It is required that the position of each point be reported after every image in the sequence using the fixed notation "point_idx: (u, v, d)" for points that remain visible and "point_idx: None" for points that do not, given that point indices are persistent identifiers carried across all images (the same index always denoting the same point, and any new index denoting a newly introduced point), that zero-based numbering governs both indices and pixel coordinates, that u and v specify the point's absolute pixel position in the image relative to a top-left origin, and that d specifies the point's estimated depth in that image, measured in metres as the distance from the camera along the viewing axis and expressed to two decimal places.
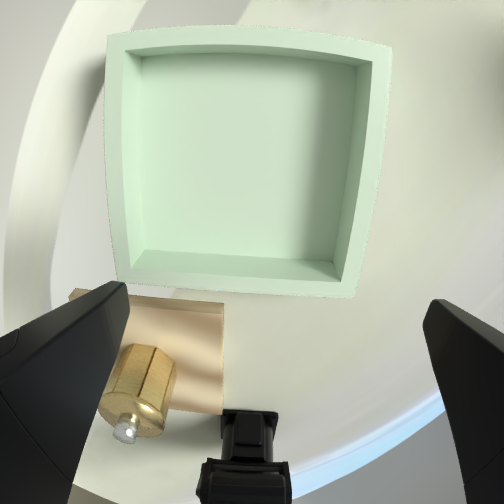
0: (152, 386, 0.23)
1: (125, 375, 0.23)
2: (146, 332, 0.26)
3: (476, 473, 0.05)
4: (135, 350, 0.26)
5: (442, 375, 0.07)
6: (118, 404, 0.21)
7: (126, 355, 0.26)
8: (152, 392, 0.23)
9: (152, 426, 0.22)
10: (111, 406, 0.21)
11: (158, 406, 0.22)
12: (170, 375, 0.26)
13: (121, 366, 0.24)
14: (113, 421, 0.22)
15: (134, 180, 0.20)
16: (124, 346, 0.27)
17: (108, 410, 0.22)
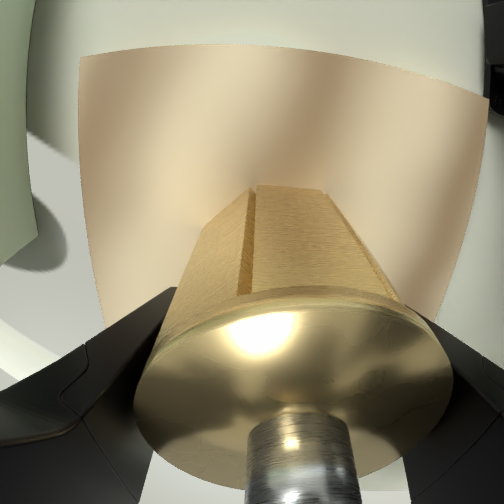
0: (196, 280, 0.06)
1: None
2: (158, 246, 0.11)
3: (422, 491, 0.05)
4: None
5: None
6: (192, 447, 0.05)
7: None
8: (197, 291, 0.06)
9: (356, 371, 0.04)
10: (222, 466, 0.05)
11: (228, 292, 0.05)
12: (255, 203, 0.08)
13: None
14: None
15: None
16: None
17: None
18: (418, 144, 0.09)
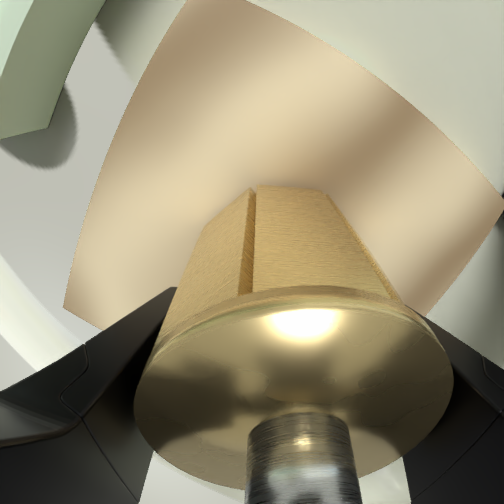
0: (197, 280, 0.06)
1: None
2: (176, 192, 0.10)
3: (422, 491, 0.05)
4: None
5: None
6: (192, 447, 0.05)
7: None
8: (198, 291, 0.06)
9: (357, 371, 0.04)
10: (222, 466, 0.05)
11: (229, 292, 0.05)
12: (256, 203, 0.08)
13: None
14: None
15: None
16: None
17: None
18: (439, 212, 0.10)
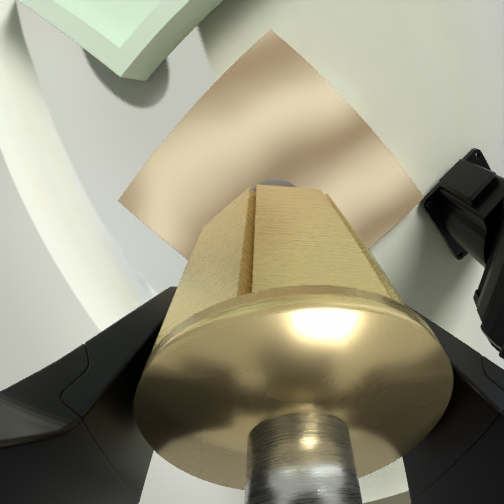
0: (196, 280, 0.06)
1: None
2: (225, 141, 0.17)
3: (422, 491, 0.05)
4: None
5: None
6: (192, 447, 0.05)
7: None
8: (197, 291, 0.06)
9: (356, 370, 0.04)
10: (222, 466, 0.05)
11: (228, 292, 0.05)
12: (256, 203, 0.08)
13: None
14: None
15: (77, 12, 0.13)
16: (223, 196, 0.19)
17: None
18: (373, 189, 0.18)
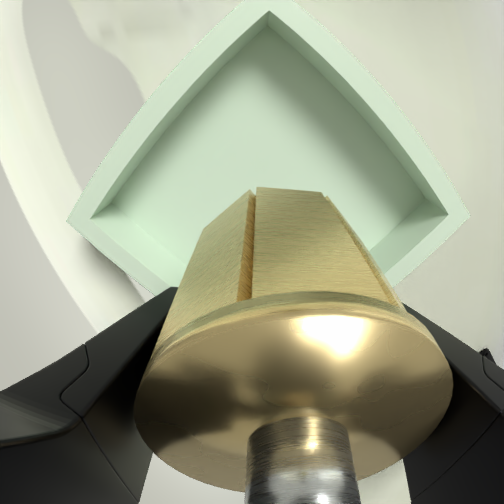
0: (196, 284, 0.06)
1: None
2: None
3: (422, 491, 0.05)
4: None
5: None
6: (192, 450, 0.05)
7: None
8: (197, 295, 0.06)
9: (356, 376, 0.04)
10: (222, 469, 0.05)
11: (228, 297, 0.05)
12: (255, 206, 0.08)
13: None
14: None
15: None
16: None
17: None
18: None
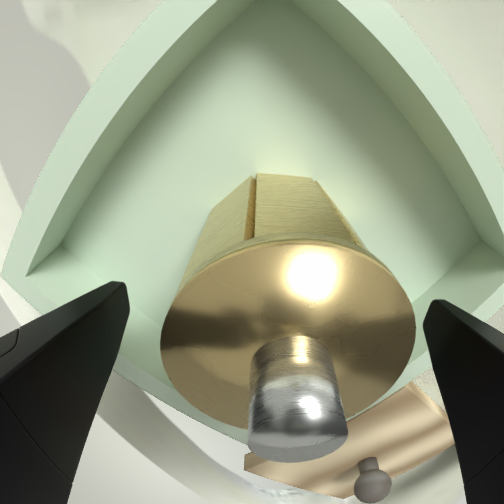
0: (210, 242, 0.08)
1: None
2: (343, 447, 0.19)
3: (476, 473, 0.05)
4: None
5: (442, 375, 0.07)
6: (205, 376, 0.07)
7: None
8: (212, 247, 0.07)
9: (332, 297, 0.06)
10: (229, 399, 0.07)
11: (237, 240, 0.06)
12: (256, 186, 0.10)
13: None
14: None
15: None
16: (331, 466, 0.20)
17: None
18: (433, 445, 0.20)
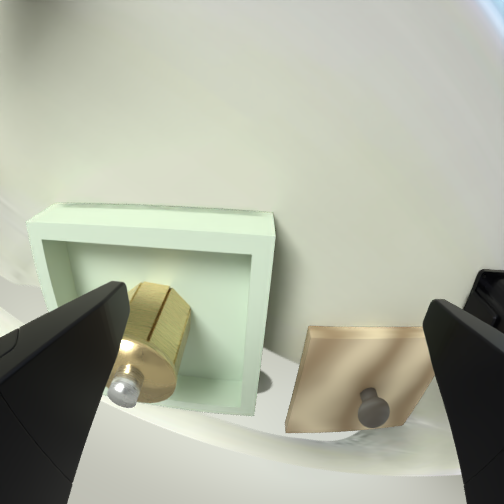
0: None
1: None
2: (327, 391, 0.27)
3: (476, 473, 0.05)
4: None
5: (442, 375, 0.07)
6: None
7: None
8: None
9: None
10: None
11: None
12: None
13: None
14: (163, 386, 0.18)
15: (177, 384, 0.26)
16: (342, 407, 0.28)
17: (145, 393, 0.18)
18: (422, 356, 0.25)
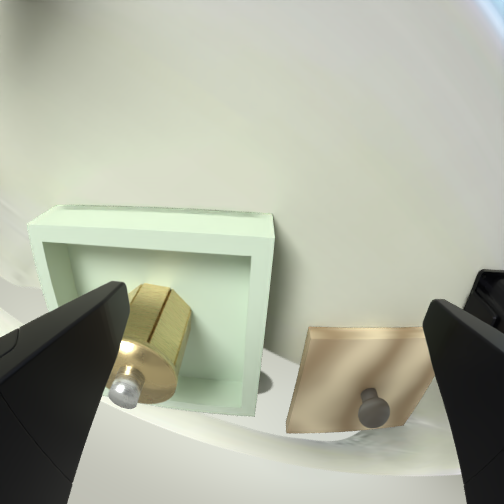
0: None
1: None
2: (327, 392, 0.27)
3: (476, 473, 0.05)
4: None
5: (442, 375, 0.07)
6: None
7: None
8: None
9: None
10: None
11: None
12: None
13: None
14: (163, 387, 0.18)
15: (178, 385, 0.26)
16: (342, 407, 0.28)
17: (146, 394, 0.19)
18: (422, 357, 0.25)
